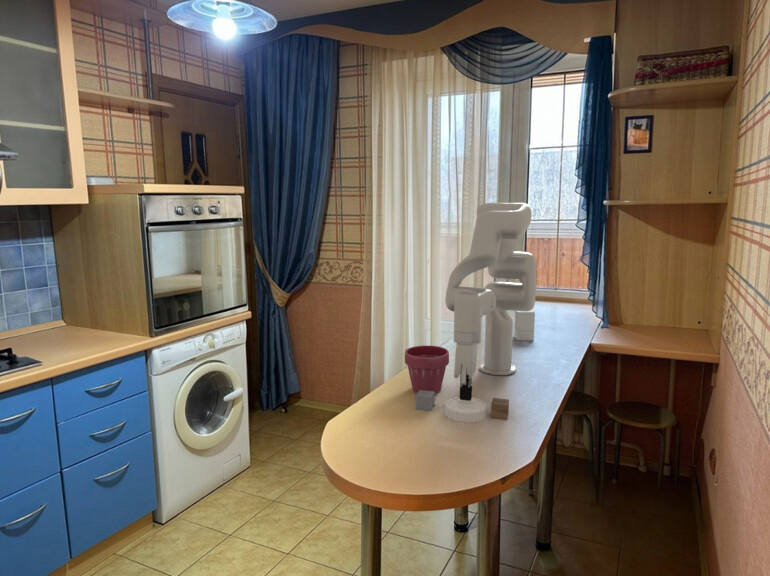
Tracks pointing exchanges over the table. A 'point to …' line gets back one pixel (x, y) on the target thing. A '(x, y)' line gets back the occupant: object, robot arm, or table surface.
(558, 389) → the table surface
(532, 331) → the supplement box
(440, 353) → the plant pot
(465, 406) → the mooncake
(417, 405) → the slate-grey block
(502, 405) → the walnut block
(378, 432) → the table surface
